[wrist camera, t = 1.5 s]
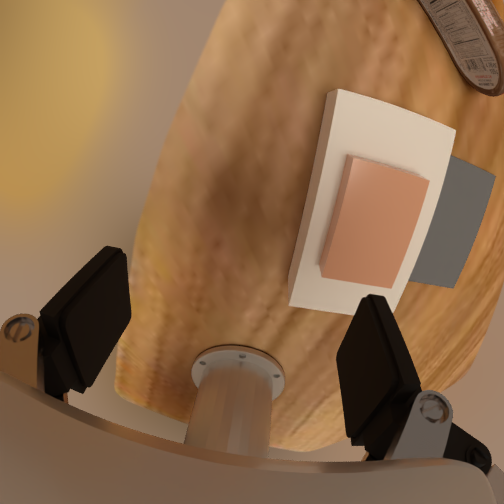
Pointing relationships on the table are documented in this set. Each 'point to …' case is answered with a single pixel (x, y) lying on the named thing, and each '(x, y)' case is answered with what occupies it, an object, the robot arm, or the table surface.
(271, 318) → the table surface
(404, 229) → the tile
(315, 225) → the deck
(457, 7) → the tin
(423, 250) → the mat
